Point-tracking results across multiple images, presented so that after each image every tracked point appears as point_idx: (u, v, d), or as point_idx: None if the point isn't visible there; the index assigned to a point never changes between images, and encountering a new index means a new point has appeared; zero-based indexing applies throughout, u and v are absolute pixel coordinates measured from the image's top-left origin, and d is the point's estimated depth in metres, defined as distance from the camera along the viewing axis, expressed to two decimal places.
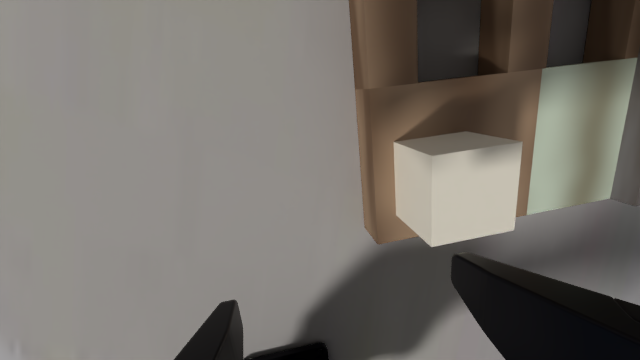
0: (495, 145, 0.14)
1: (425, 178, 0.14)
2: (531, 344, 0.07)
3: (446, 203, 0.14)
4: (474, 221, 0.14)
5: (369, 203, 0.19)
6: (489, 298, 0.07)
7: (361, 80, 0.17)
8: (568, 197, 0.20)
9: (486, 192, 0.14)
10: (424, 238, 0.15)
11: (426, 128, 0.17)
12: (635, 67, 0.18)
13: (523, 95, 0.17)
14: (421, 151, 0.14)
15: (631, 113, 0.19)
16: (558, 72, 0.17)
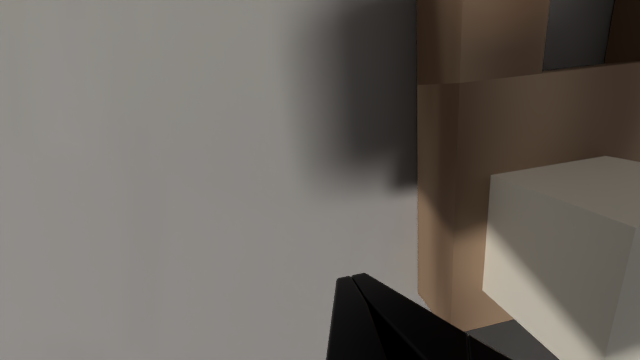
0: None
1: (598, 264, 0.07)
2: None
3: None
4: None
5: (434, 266, 0.12)
6: None
7: (437, 68, 0.10)
8: None
9: None
10: None
11: (545, 151, 0.10)
12: None
13: None
14: (585, 208, 0.07)
15: None
16: None
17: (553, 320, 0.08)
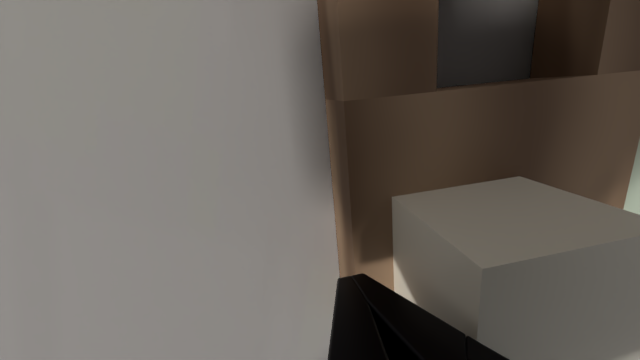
0: (619, 236, 0.06)
1: (461, 303, 0.06)
2: None
3: None
4: None
5: None
6: None
7: (332, 84, 0.09)
8: None
9: (589, 330, 0.06)
10: None
11: (448, 172, 0.09)
12: None
13: (618, 115, 0.10)
14: (451, 241, 0.06)
15: None
16: None
17: None
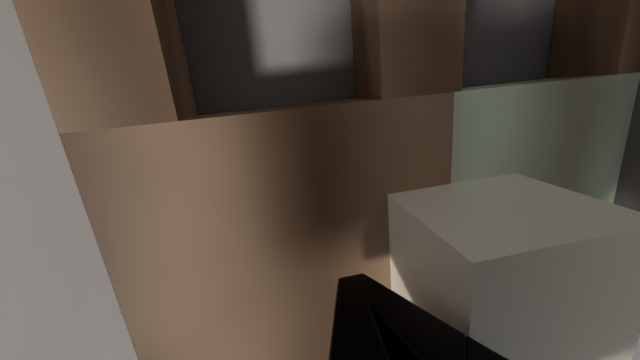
0: (610, 230, 0.06)
1: (454, 298, 0.06)
2: None
3: (499, 353, 0.06)
4: None
5: None
6: None
7: None
8: None
9: (582, 323, 0.07)
10: None
11: (216, 208, 0.08)
12: (636, 90, 0.10)
13: (419, 142, 0.09)
14: (444, 237, 0.06)
15: (629, 172, 0.10)
16: (488, 99, 0.09)
17: None
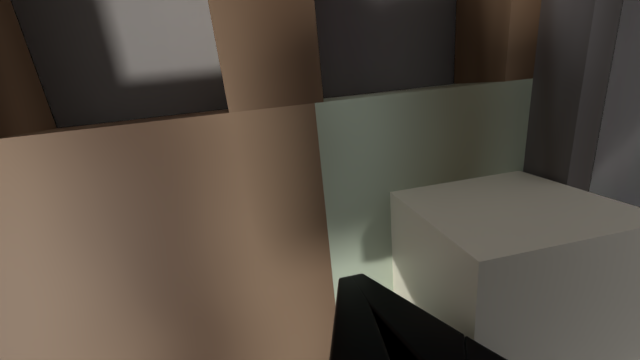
0: (619, 228, 0.06)
1: (459, 297, 0.06)
2: None
3: (504, 354, 0.06)
4: None
5: None
6: None
7: None
8: None
9: (589, 324, 0.06)
10: None
11: (50, 233, 0.08)
12: (529, 98, 0.09)
13: (281, 158, 0.08)
14: (449, 235, 0.06)
15: None
16: (356, 110, 0.08)
17: None
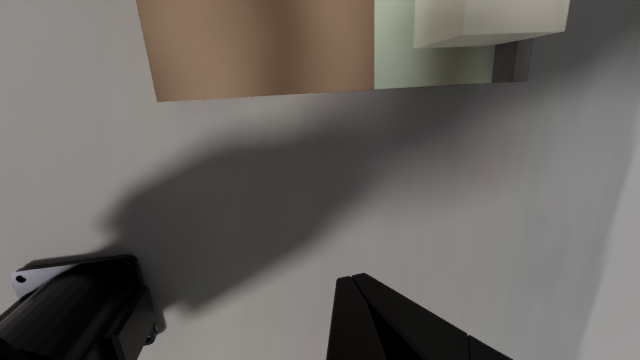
0: None
1: None
2: None
3: None
4: (518, 5, 0.11)
5: None
6: None
7: None
8: (432, 72, 0.16)
9: None
10: (452, 34, 0.12)
11: None
12: None
13: None
14: None
15: None
16: None
17: (445, 12, 0.12)
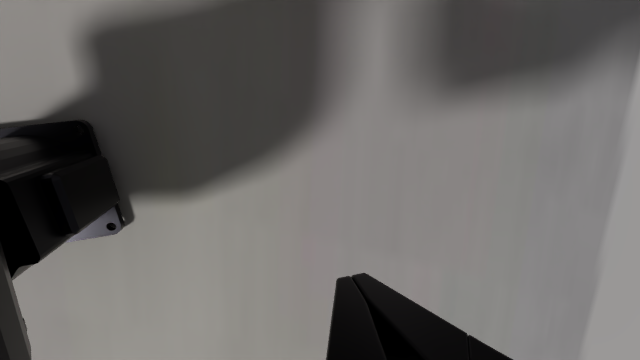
0: None
1: None
2: None
3: None
4: None
5: None
6: None
7: None
8: None
9: None
10: None
11: None
12: None
13: None
14: None
15: None
16: None
17: None
